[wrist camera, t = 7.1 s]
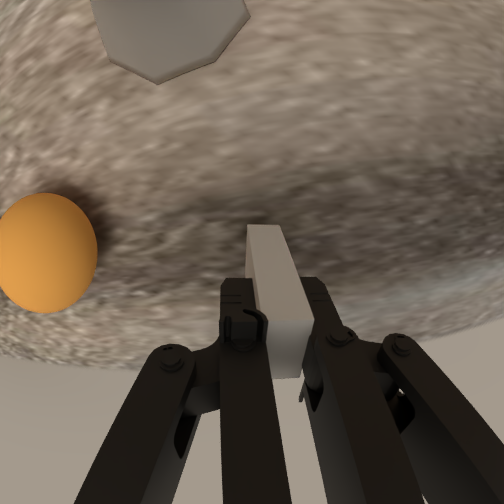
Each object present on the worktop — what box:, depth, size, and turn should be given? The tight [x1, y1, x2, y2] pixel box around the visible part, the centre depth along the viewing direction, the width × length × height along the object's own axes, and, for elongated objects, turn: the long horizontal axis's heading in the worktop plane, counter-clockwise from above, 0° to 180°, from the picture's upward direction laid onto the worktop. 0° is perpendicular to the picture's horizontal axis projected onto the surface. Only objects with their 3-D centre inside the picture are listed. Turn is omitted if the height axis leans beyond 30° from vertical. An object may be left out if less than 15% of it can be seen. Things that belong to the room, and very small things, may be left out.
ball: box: [0, 193, 97, 313], centre depth 12 cm, size 6×6×6 cm
